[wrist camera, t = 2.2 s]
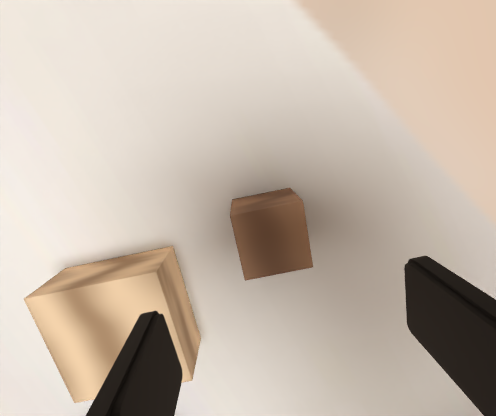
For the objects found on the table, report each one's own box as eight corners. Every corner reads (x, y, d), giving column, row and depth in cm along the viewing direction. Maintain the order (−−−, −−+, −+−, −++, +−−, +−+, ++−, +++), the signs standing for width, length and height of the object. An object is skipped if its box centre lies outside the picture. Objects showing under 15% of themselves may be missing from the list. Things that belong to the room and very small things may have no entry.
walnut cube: (289, 187, 23) (302, 200, 18) (298, 241, 24) (313, 267, 19) (232, 199, 23) (229, 215, 18) (244, 252, 24) (244, 280, 19)
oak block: (173, 244, 24) (156, 271, 19) (201, 336, 26) (192, 380, 22) (67, 267, 24) (23, 298, 19) (104, 355, 27) (74, 403, 22)
